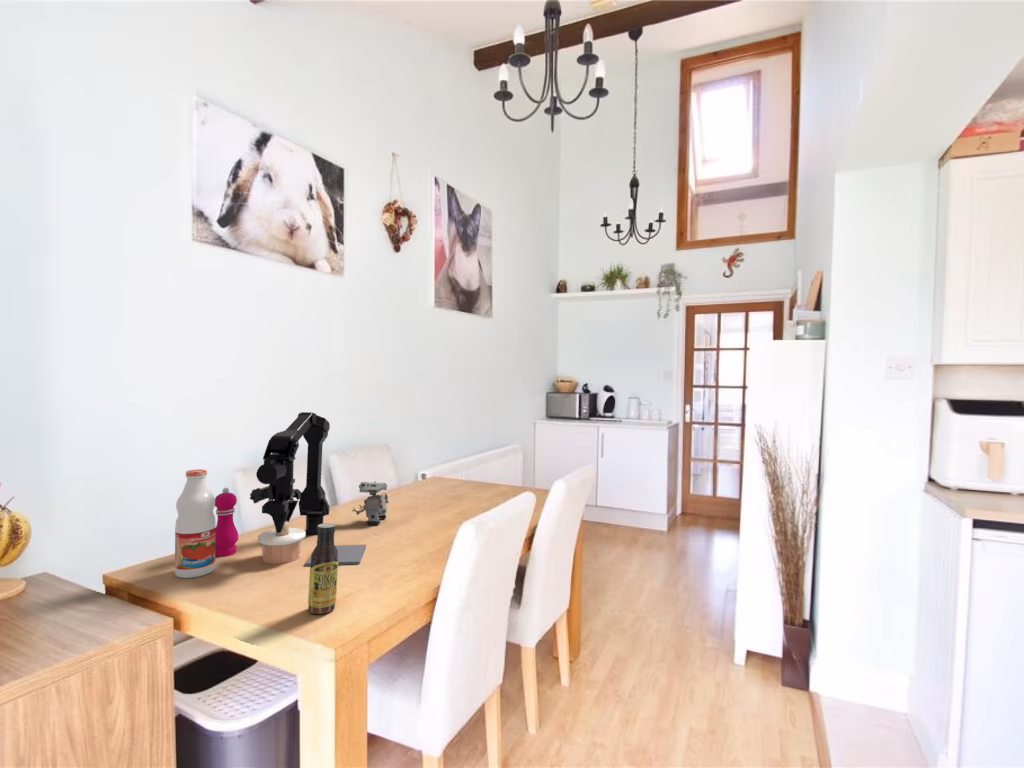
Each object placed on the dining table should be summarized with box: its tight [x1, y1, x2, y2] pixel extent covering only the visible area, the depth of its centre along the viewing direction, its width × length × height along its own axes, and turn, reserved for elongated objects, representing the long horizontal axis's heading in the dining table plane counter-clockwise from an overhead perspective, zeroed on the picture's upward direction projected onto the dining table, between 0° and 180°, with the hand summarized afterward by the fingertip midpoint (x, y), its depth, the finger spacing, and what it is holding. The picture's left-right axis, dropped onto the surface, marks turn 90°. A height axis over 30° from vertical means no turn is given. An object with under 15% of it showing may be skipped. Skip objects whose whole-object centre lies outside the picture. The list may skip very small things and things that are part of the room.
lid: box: [257, 521, 307, 546], centre depth 151 cm, size 13×13×5 cm
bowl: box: [261, 540, 302, 565], centre depth 151 cm, size 10×10×6 cm
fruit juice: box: [174, 468, 217, 579], centre depth 139 cm, size 9×9×28 cm
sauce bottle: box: [307, 522, 339, 615], centre depth 119 cm, size 6×6×20 cm
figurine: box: [351, 480, 389, 526], centre depth 190 cm, size 9×12×15 cm
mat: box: [305, 544, 367, 567], centre depth 154 cm, size 15×15×1 cm
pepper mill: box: [214, 487, 239, 557], centre depth 154 cm, size 7×7×20 cm
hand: (282, 529), depth 151 cm, fingers open, 6 cm apart
